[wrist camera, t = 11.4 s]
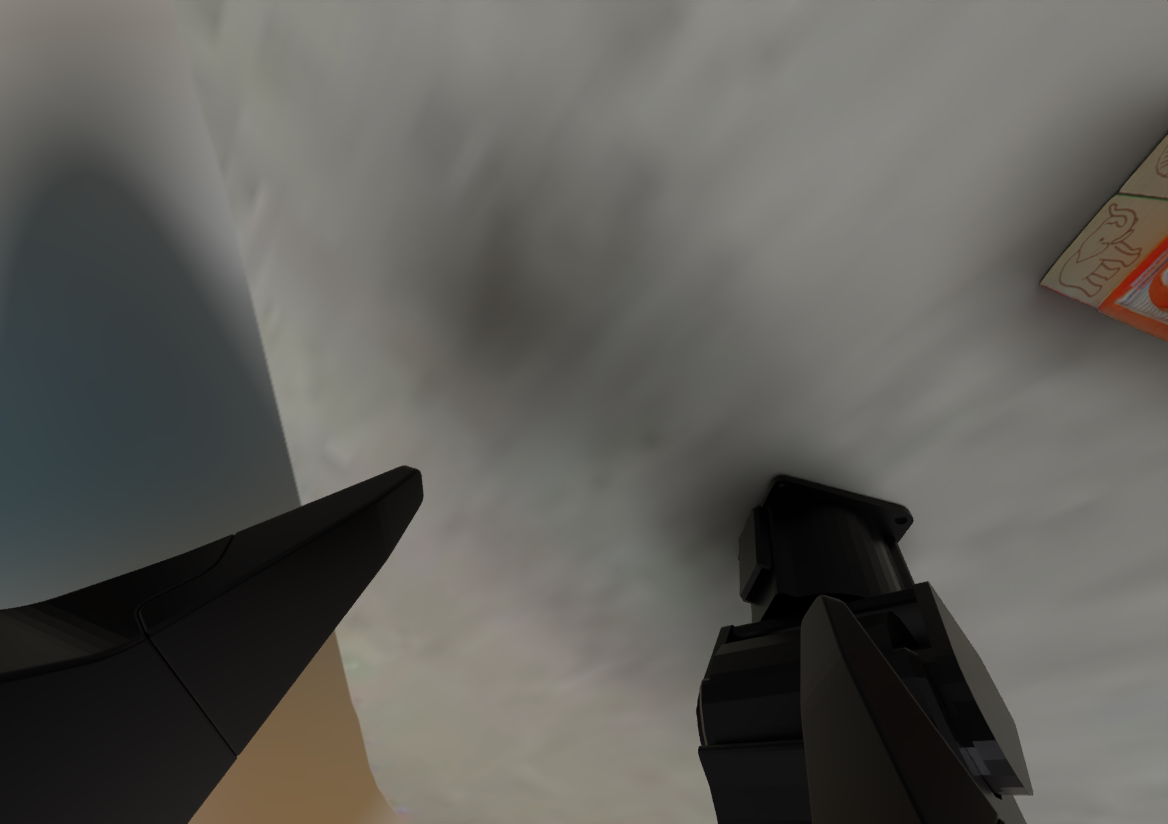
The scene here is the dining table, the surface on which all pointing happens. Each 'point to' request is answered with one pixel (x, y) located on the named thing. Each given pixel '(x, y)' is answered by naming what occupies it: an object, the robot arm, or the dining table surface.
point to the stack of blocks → (1124, 253)
